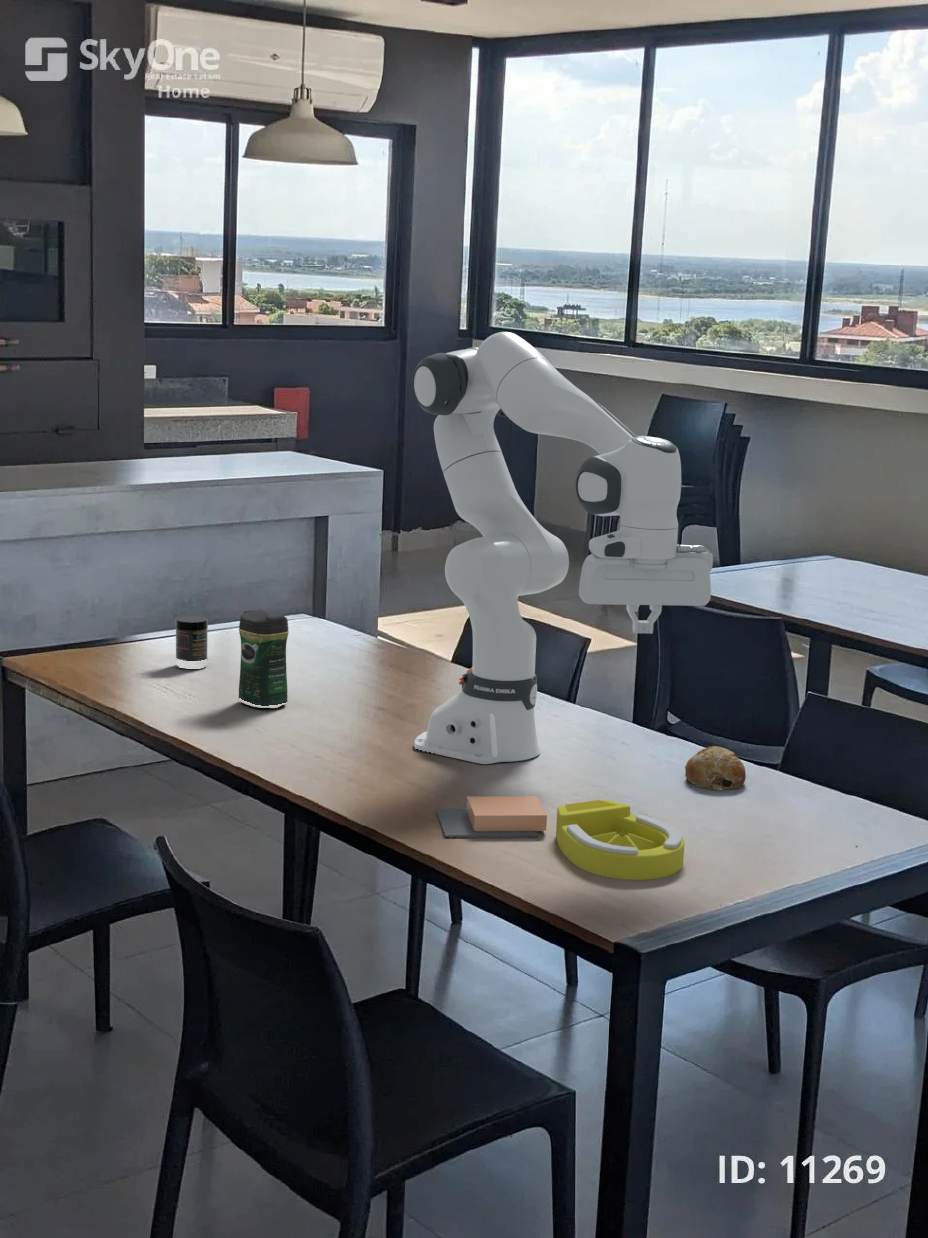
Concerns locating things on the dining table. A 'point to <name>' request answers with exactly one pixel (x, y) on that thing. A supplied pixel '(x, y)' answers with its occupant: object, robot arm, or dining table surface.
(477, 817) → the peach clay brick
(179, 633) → the supplement container
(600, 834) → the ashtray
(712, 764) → the bread roll
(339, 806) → the dining table surface
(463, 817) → the rubber mat
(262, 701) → the coffee jar
